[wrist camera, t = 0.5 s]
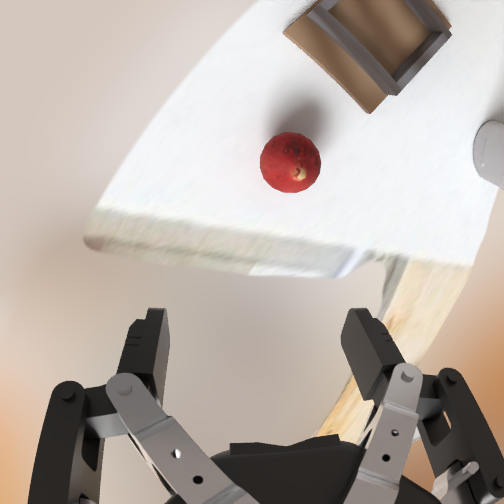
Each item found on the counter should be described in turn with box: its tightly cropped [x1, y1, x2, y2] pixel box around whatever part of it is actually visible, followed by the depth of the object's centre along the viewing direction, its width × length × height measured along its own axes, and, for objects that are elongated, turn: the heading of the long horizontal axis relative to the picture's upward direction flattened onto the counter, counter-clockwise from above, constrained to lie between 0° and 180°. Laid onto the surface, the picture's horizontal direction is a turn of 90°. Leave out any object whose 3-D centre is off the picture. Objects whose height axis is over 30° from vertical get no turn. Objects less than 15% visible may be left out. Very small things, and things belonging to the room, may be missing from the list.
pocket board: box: [283, 0, 452, 114], centre depth 24 cm, size 18×13×4 cm
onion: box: [260, 132, 321, 193], centre depth 29 cm, size 6×6×8 cm
